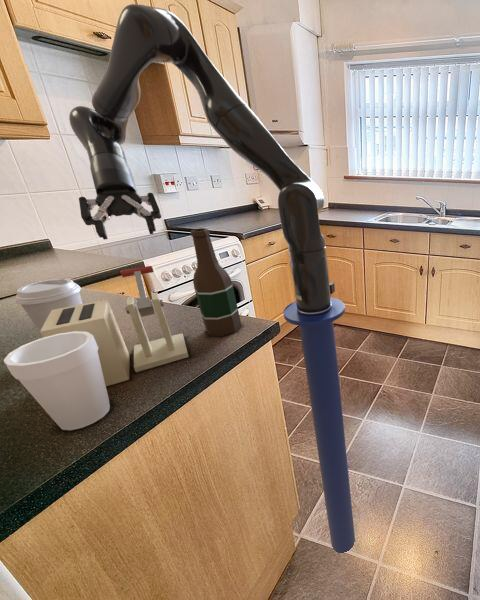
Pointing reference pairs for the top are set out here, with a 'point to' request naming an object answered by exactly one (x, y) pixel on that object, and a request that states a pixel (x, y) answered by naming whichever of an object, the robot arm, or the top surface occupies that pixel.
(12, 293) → the top surface
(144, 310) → the lever
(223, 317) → the beer bottle
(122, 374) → the toaster
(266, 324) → the top surface
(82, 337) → the foam cup
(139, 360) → the lever bracket
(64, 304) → the coffee cup
